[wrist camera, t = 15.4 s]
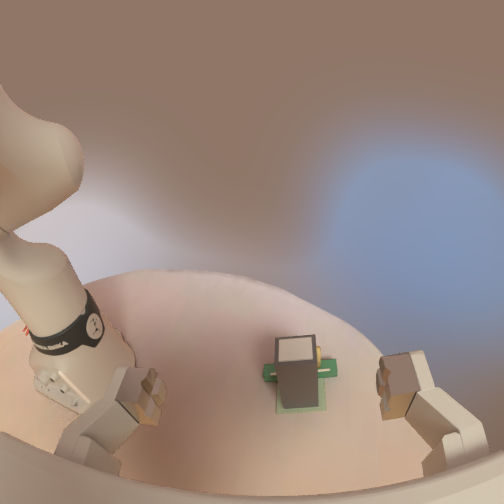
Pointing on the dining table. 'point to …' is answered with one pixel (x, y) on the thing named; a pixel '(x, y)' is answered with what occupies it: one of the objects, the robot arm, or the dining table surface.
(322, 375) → the header strip
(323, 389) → the pad
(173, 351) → the dining table surface
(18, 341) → the dining table surface
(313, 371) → the block
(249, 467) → the dining table surface
